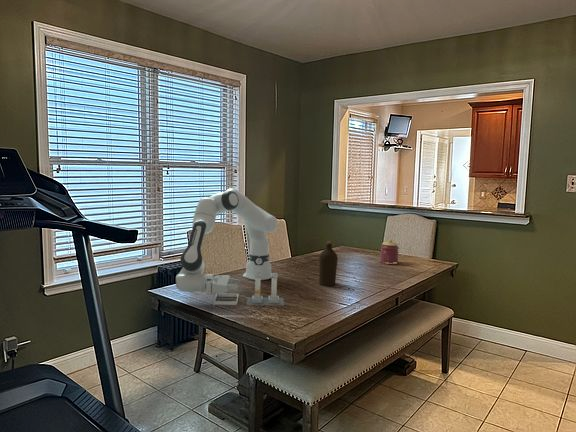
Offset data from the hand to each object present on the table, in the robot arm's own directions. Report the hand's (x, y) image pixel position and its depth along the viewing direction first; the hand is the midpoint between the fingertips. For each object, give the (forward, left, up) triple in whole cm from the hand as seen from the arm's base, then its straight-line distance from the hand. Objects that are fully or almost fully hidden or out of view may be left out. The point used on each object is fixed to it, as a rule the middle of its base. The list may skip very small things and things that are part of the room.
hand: (238, 283), depth 214 cm
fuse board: (0, +13, -10) cm, 16 cm away
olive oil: (-38, +49, -10) cm, 63 cm away
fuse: (0, +17, -9) cm, 19 cm away
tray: (0, -6, -10) cm, 11 cm away
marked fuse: (0, +9, -9) cm, 13 cm away
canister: (-100, +103, -10) cm, 144 cm away
